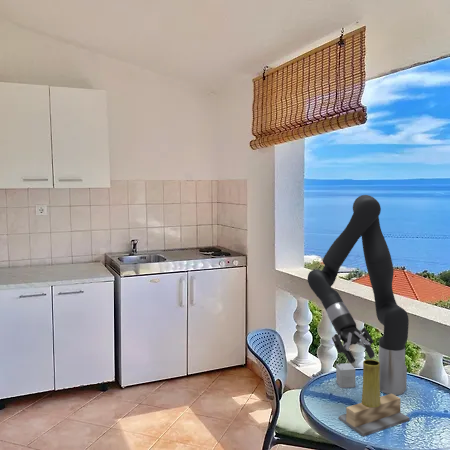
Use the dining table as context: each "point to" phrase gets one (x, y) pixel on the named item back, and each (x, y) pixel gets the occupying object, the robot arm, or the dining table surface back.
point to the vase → (371, 383)
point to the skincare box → (345, 375)
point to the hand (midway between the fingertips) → (363, 359)
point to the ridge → (374, 415)
